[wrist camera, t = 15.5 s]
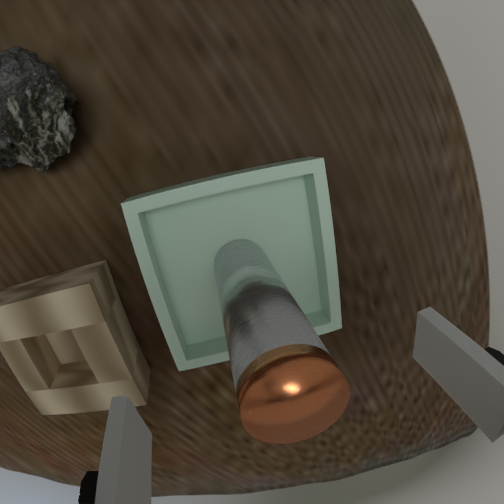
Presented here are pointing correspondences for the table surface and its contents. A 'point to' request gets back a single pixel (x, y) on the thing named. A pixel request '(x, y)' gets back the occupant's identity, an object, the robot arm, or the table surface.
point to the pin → (274, 351)
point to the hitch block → (72, 342)
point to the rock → (33, 111)
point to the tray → (225, 230)
